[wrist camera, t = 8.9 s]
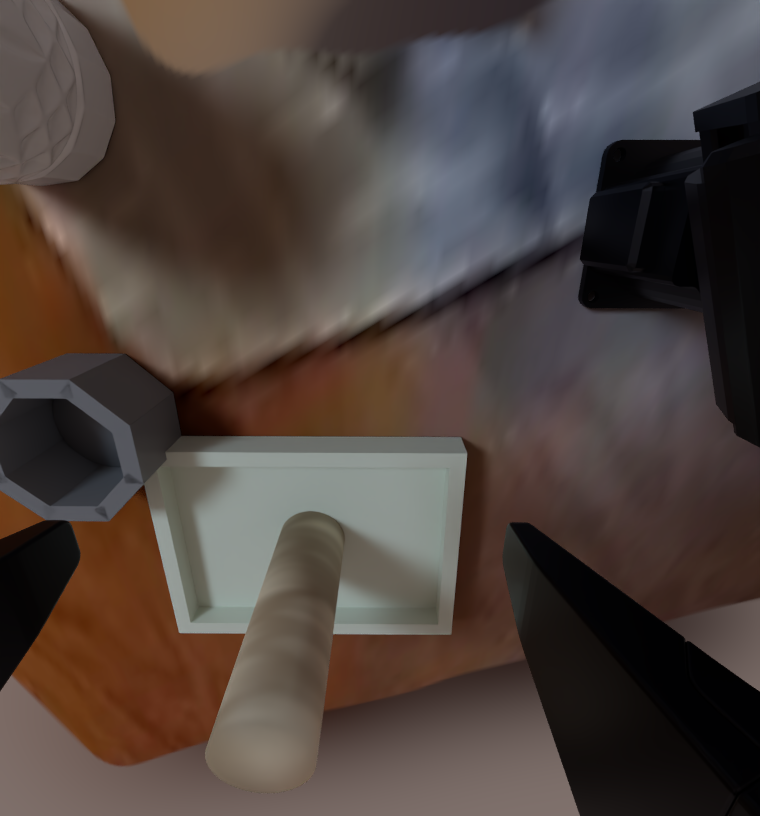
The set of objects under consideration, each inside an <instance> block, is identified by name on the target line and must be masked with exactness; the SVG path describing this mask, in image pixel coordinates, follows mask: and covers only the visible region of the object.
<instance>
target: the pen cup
mask: <svg viewBox="0 0 760 816" xmlns="http://www.w3.org/2000/svg"><path fill="white" fill-rule="evenodd" d="M180 437H181V431H180V426H179V420H178V415H177V410H176V405H175V399H174V394H173V392H172V391H171V390H169V389H168V388H167V387H166V386H164V385H163V384H162V383H161V382H159V381H158V380H157V379H156V378H154V377H153V376H152V375H151V374H149V373H148V372H147V371H146V370H144V369H143V368H142V367H141V366H139V365H138V364H137V363H136V362H134V361H133V360H132V359H131V358H129V357H128V356H127V355H126V354H64V355H62V356H59V357H56V358H54V359H51V360H49V361H46V362H43V363H41V364H38V365H35V366H33V367H30V368H27V369H25V370H22V371H20V372H17V373H14V374H12V375H9V376H6V377H4V378H1V379H0V490H1V491H2V492H4V493H5V494H7V495H9V496H10V497H12V498H13V499H15V500H16V501H18V502H19V503H21V504H22V505H24V506H25V507H27V508H29V509H30V510H32V511H33V512H35V513H36V514H38V515H39V516H41V517H42V518H44V519H46V520H66V521H110V520H111V519H112V517H113V516H114V515H115V514H116V513H117V512H118V511H119V510H120V509H121V508H122V507H123V506H124V505H125V504H126V503H127V502H128V501H129V500H130V499H131V498H132V496H133V495H134V494H135V493H136V492H137V491H138V490H139V489H140V488H141V487H142V486H143V485H144V484H145V483H146V481H147V480H148V479H149V478H150V477H151V476H152V475H153V474H154V473H155V472H156V471H157V470H158V469H159V468H160V466H161V465H162V464H163V463H164V462H165V461H166V460H167V458H166V453H165V452H166V451H167V450H168V449H169V448H170V447H171V446H172V445H173V444H174V443H175V442H176V441H177V440H178V439H179V438H180Z"/></svg>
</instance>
